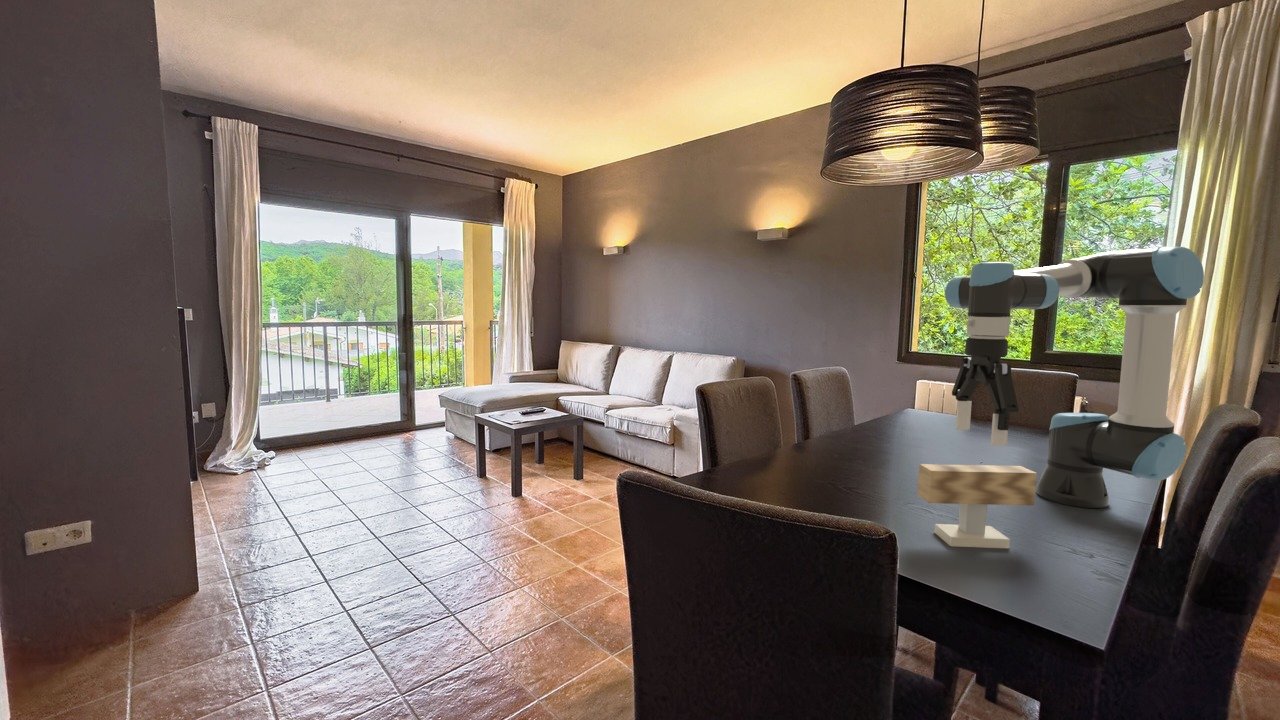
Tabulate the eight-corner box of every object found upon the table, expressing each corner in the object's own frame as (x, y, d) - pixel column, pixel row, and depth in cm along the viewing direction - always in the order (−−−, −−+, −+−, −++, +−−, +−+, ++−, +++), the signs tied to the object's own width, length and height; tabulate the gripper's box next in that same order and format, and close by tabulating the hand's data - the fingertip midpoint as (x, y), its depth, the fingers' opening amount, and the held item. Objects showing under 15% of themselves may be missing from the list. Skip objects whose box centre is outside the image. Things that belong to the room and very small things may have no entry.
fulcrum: (989, 534, 121) (992, 495, 121) (1009, 548, 115) (1012, 507, 114) (934, 532, 122) (937, 493, 121) (950, 546, 115) (953, 505, 114)
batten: (1018, 497, 120) (1020, 466, 119) (1034, 505, 115) (1037, 473, 114) (917, 495, 120) (919, 464, 119) (929, 503, 115) (931, 470, 114)
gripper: (939, 333, 126) (933, 423, 129) (1004, 341, 102) (996, 452, 104) (972, 334, 126) (966, 424, 128) (1046, 341, 101) (1037, 453, 103)
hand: (979, 437), depth 116 cm, fingers open, 13 cm apart
